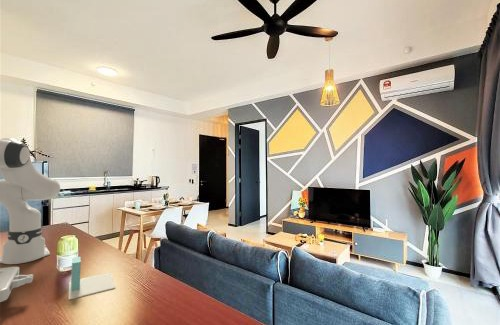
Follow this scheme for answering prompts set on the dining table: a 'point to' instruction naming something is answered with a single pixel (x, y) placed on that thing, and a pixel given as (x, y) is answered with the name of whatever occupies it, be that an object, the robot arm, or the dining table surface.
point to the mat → (92, 285)
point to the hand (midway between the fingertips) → (32, 278)
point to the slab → (75, 273)
